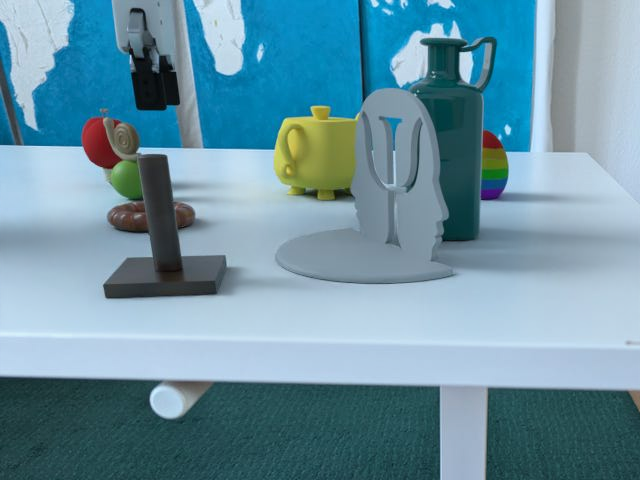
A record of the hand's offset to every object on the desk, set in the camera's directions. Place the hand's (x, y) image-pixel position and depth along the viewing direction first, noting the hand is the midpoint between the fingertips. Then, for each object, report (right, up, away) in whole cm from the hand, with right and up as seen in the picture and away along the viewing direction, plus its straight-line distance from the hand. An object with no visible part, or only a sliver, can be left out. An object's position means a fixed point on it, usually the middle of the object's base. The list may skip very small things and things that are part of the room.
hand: (159, 107), depth 85 cm
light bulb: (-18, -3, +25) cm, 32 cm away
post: (+10, -23, -20) cm, 33 cm away
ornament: (+25, -20, -11) cm, 34 cm away
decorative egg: (+39, -5, +26) cm, 47 cm away
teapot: (+15, -4, +25) cm, 30 cm away
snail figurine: (-11, -8, +16) cm, 21 cm away
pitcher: (+35, -15, +1) cm, 38 cm away
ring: (-1, -13, 0) cm, 13 cm away
